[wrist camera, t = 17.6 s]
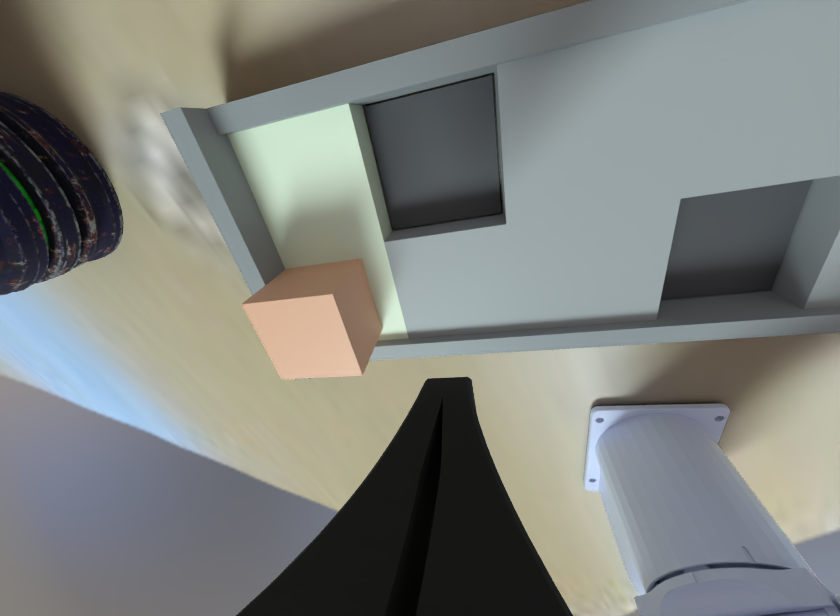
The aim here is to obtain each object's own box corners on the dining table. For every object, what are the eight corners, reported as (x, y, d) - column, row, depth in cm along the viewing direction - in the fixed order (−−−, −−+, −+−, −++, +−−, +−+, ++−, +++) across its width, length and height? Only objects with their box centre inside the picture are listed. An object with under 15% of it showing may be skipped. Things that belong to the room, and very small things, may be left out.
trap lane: (910, 294, 15) (1033, 343, 12) (322, 340, 23) (295, 379, 19) (1190, -148, 9) (1645, -318, 5) (227, 115, 16) (160, 113, 12)
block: (382, 329, 19) (362, 375, 15) (314, 334, 20) (281, 379, 16) (361, 258, 17) (332, 294, 13) (286, 268, 18) (241, 304, 14)
